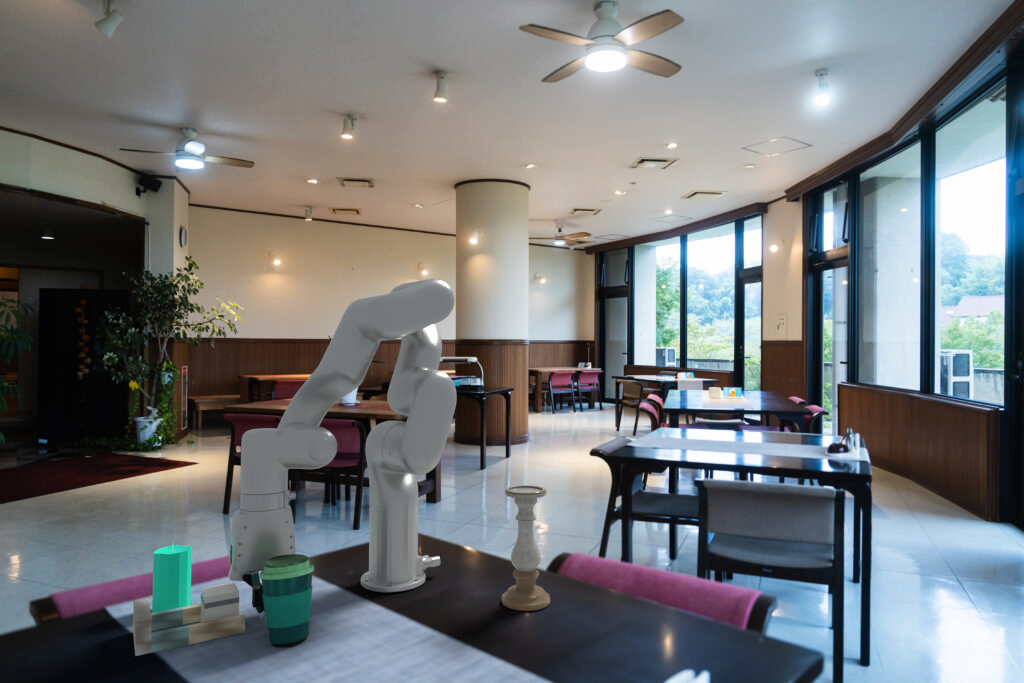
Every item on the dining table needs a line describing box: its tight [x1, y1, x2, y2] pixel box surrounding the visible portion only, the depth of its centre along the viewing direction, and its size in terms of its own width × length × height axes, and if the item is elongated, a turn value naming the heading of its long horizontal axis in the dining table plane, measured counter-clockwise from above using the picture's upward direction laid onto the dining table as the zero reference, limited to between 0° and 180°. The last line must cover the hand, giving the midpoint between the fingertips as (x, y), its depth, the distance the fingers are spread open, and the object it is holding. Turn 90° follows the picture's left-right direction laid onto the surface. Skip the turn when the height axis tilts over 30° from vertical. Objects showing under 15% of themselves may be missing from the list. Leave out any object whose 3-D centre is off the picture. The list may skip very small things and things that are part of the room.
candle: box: [151, 541, 193, 613], centre depth 110 cm, size 6×6×12 cm
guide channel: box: [132, 597, 246, 657], centre depth 100 cm, size 15×10×5 cm, turn 123°
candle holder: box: [501, 484, 551, 612], centre depth 113 cm, size 9×9×20 cm
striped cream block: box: [200, 581, 240, 623], centre depth 103 cm, size 5×5×6 cm
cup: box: [259, 553, 315, 648], centre depth 98 cm, size 8×8×12 cm
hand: (262, 610), depth 106 cm, fingers closed
